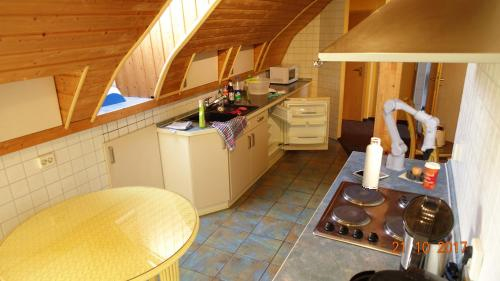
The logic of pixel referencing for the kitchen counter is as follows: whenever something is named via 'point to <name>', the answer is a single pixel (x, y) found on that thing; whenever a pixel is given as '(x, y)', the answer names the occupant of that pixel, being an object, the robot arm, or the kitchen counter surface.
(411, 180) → the mat
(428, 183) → the paper cup
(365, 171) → the bottle
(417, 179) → the dark brown round dish
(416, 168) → the tan rounded lump
